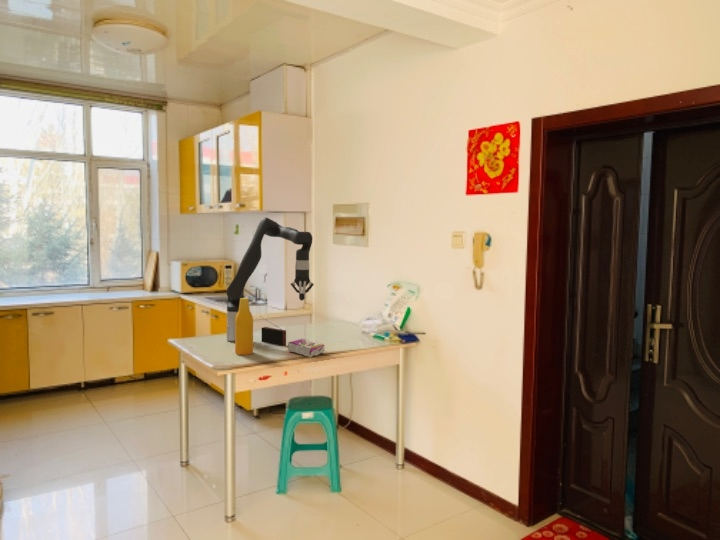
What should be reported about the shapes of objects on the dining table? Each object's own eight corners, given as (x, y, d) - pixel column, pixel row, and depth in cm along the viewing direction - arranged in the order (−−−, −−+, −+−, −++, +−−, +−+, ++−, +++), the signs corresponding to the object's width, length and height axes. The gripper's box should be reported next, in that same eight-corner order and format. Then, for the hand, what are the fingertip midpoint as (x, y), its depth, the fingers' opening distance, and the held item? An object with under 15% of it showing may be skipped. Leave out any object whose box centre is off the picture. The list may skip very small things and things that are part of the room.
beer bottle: (231, 353, 274) (231, 298, 272) (244, 350, 282) (244, 296, 280) (243, 356, 269) (243, 300, 267) (256, 352, 277) (257, 298, 274)
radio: (286, 345, 296) (286, 318, 295) (282, 346, 294) (282, 319, 293) (262, 340, 307) (262, 315, 306) (259, 341, 304) (259, 316, 303)
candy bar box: (302, 337, 288) (324, 344, 278) (302, 346, 288) (324, 353, 278) (287, 341, 279) (310, 348, 269) (287, 350, 280) (310, 357, 270)
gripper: (290, 269, 279) (290, 301, 280) (315, 269, 282) (314, 301, 283) (289, 267, 286) (289, 299, 287) (313, 268, 289) (313, 299, 290)
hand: (301, 300), depth 285 cm, fingers closed
